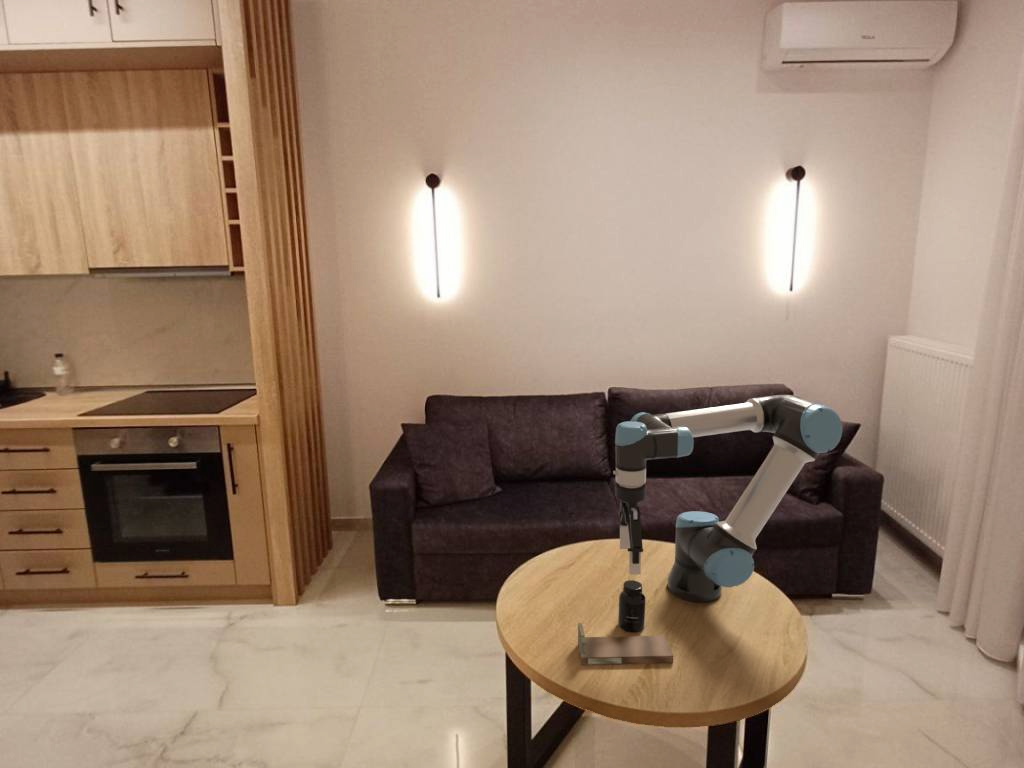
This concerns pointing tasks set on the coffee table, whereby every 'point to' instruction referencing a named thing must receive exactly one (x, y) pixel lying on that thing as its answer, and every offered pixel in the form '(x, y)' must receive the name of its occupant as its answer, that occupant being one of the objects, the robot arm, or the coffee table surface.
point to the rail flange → (623, 649)
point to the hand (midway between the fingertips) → (629, 560)
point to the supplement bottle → (631, 607)
